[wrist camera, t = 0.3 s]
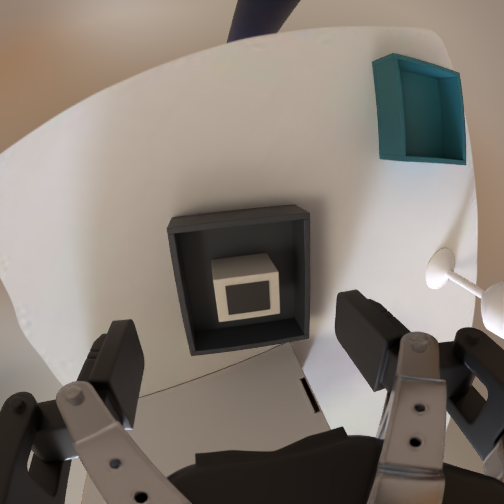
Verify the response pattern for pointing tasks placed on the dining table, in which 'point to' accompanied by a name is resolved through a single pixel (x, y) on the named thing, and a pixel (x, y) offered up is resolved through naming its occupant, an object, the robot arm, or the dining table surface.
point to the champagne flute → (492, 300)
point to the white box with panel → (245, 287)
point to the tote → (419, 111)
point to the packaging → (226, 414)
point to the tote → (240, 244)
